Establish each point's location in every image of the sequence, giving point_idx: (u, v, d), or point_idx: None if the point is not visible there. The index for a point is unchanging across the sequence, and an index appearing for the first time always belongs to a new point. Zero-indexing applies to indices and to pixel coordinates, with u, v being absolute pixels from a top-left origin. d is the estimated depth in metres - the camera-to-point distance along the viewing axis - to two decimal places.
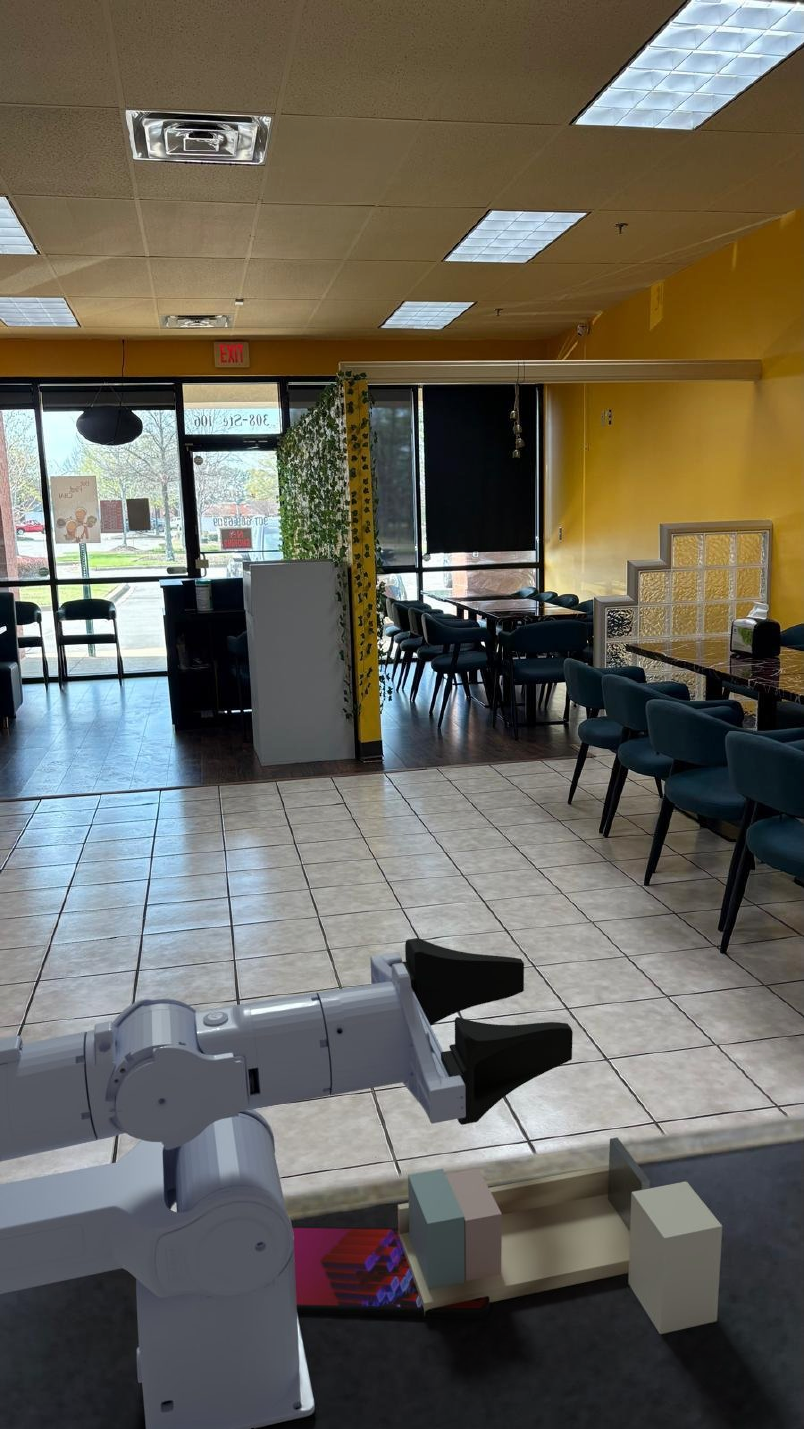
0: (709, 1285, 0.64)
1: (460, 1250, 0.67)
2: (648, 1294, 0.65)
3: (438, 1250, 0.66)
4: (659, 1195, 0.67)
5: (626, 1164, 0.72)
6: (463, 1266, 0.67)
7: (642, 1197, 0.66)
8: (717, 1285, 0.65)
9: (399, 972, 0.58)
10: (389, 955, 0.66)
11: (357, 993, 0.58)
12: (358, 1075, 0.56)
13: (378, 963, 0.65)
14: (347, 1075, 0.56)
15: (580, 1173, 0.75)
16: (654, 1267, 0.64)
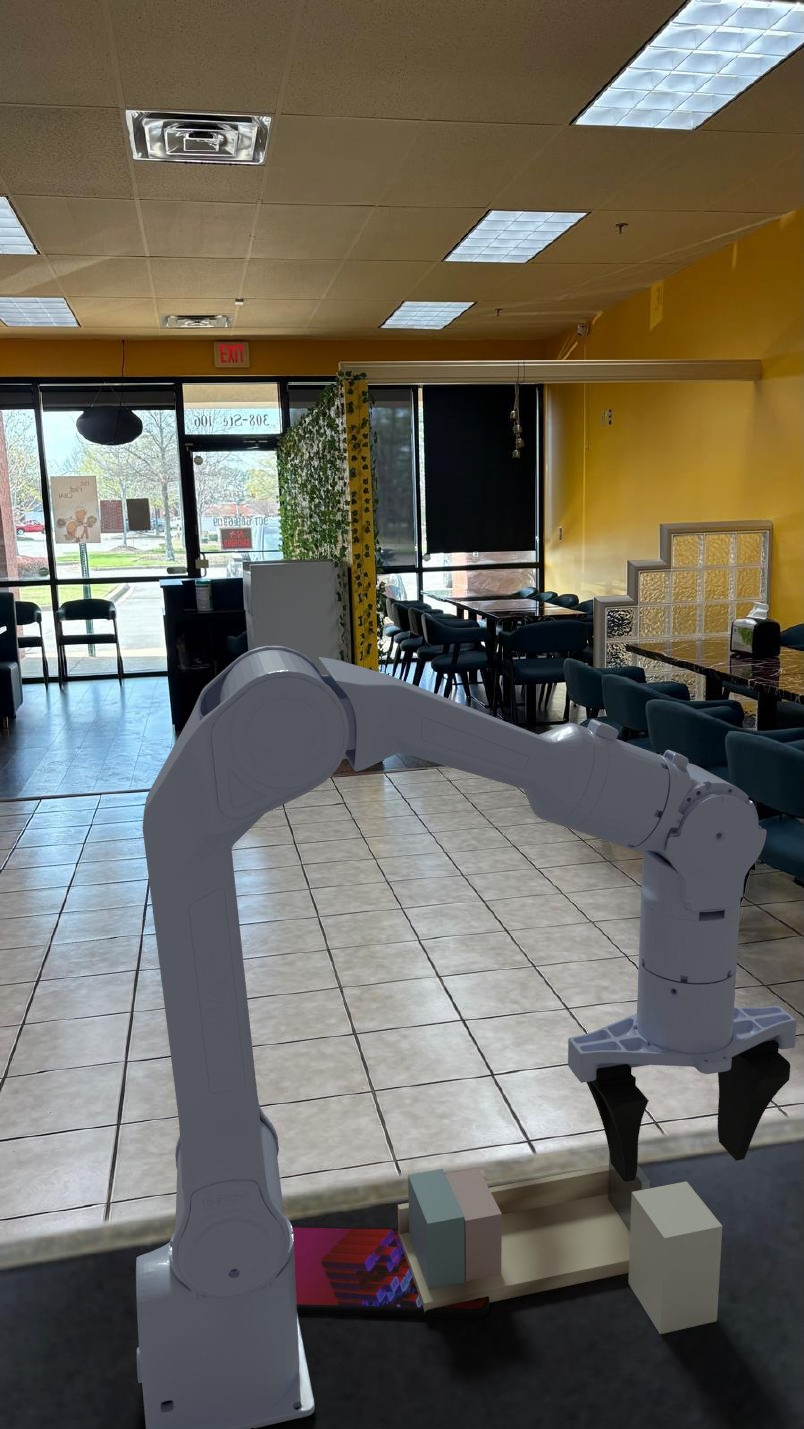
0: (709, 1285, 0.64)
1: (460, 1250, 0.67)
2: (649, 1294, 0.65)
3: (438, 1250, 0.66)
4: (660, 1195, 0.67)
5: None
6: (463, 1266, 0.67)
7: (642, 1197, 0.66)
8: (717, 1285, 0.65)
9: (713, 1066, 0.59)
10: (791, 1038, 0.64)
11: (711, 1017, 0.60)
12: (640, 987, 0.62)
13: (779, 1027, 0.63)
14: (641, 978, 0.62)
15: (580, 1173, 0.75)
16: (654, 1267, 0.64)
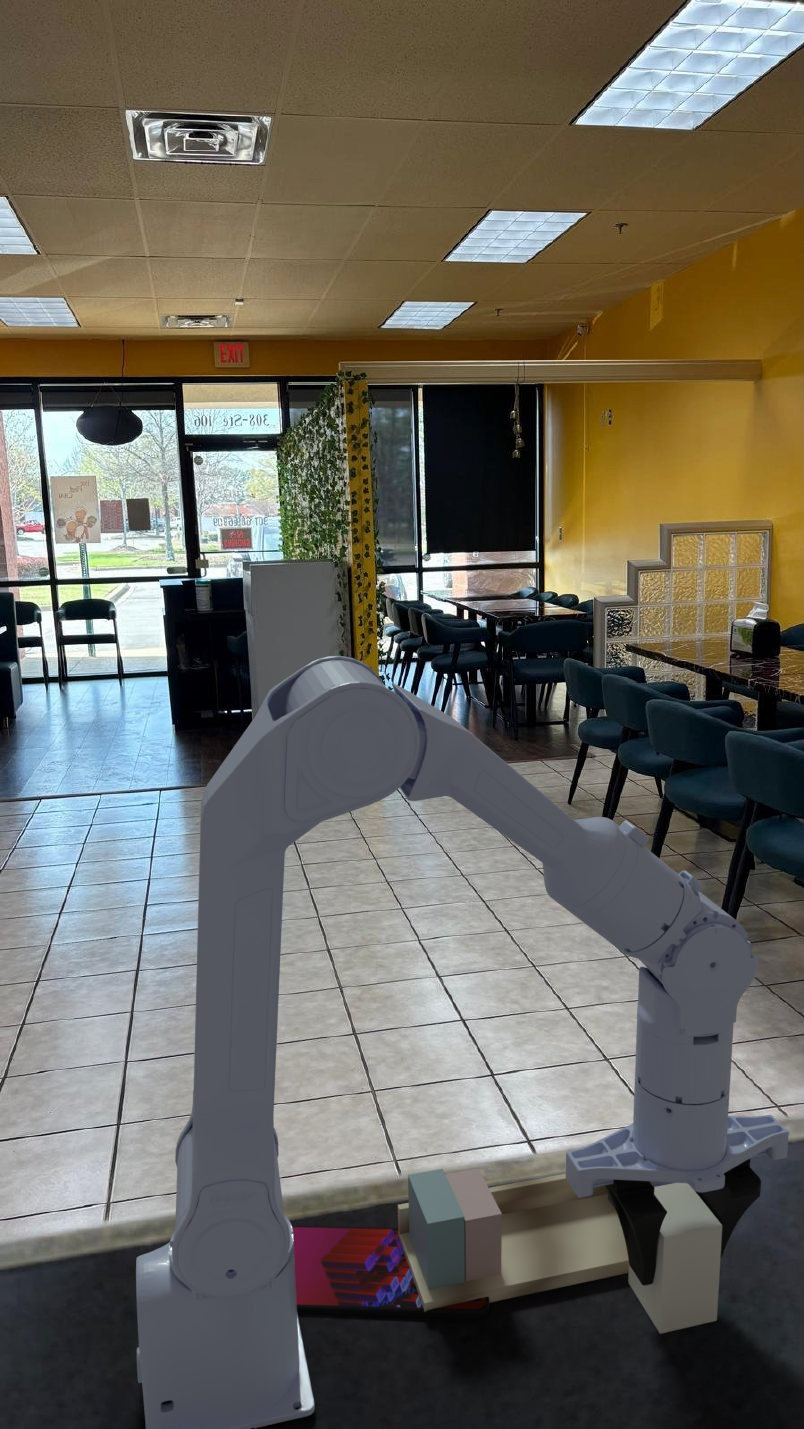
0: (709, 1284, 0.64)
1: (460, 1250, 0.67)
2: (648, 1293, 0.65)
3: (438, 1250, 0.66)
4: (659, 1195, 0.67)
5: None
6: (463, 1266, 0.67)
7: None
8: (717, 1284, 0.65)
9: (707, 1185, 0.60)
10: (783, 1149, 0.65)
11: (705, 1136, 0.61)
12: (636, 1102, 0.64)
13: (771, 1140, 0.65)
14: (637, 1094, 0.63)
15: None
16: None
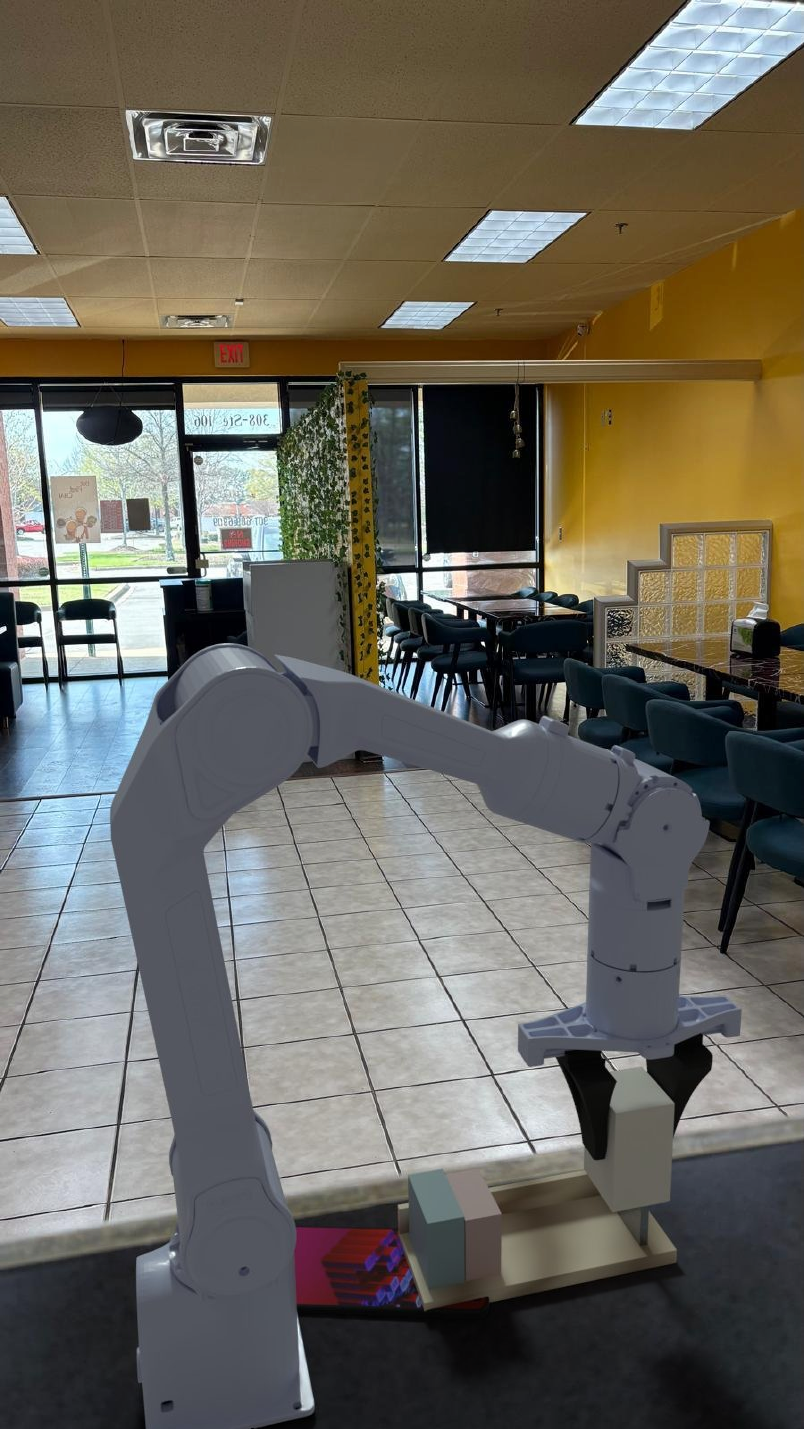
0: (662, 1164, 0.65)
1: (460, 1250, 0.67)
2: (602, 1174, 0.66)
3: (438, 1250, 0.66)
4: None
5: None
6: (463, 1266, 0.67)
7: None
8: (670, 1164, 0.65)
9: (656, 1051, 0.61)
10: (736, 1027, 0.65)
11: (654, 1005, 0.61)
12: (588, 975, 0.64)
13: (724, 1016, 0.65)
14: (589, 967, 0.64)
15: (580, 1173, 0.75)
16: (607, 1146, 0.65)
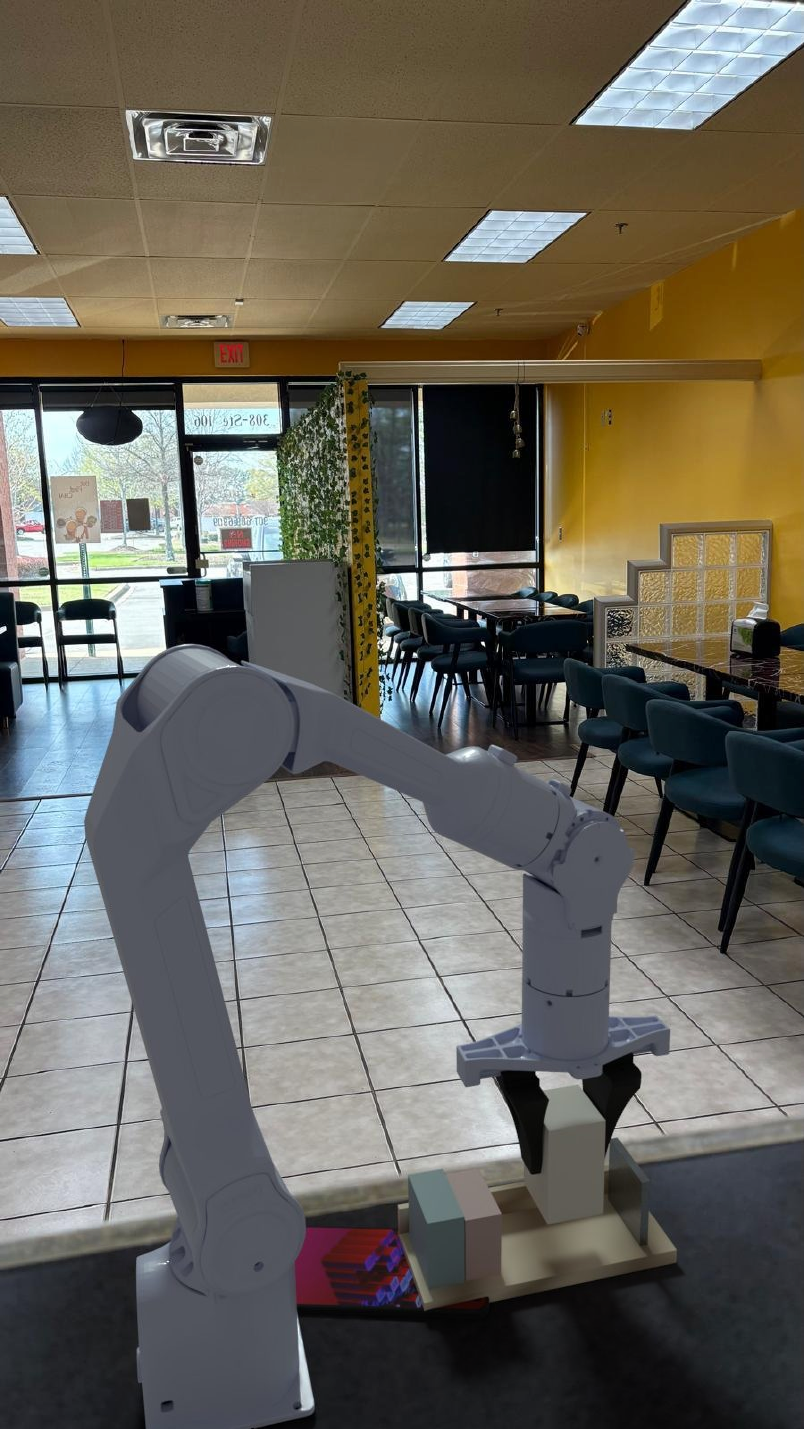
0: (594, 1178, 0.68)
1: (460, 1250, 0.67)
2: (538, 1188, 0.69)
3: (438, 1250, 0.66)
4: (550, 1096, 0.70)
5: (626, 1164, 0.72)
6: (463, 1266, 0.67)
7: None
8: (602, 1178, 0.68)
9: (585, 1072, 0.64)
10: (665, 1046, 0.69)
11: (583, 1027, 0.65)
12: (522, 998, 0.67)
13: (653, 1036, 0.68)
14: (523, 991, 0.67)
15: None
16: None
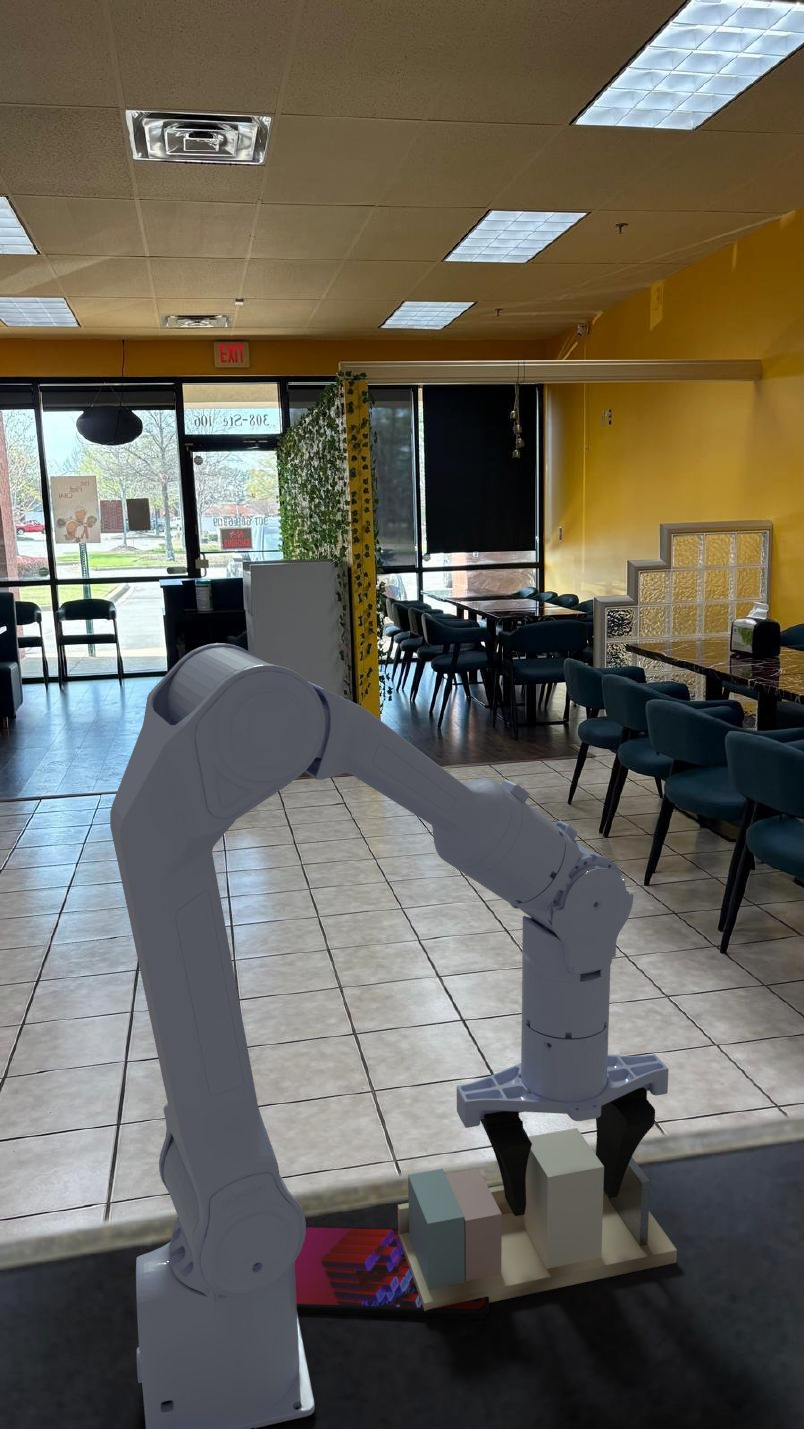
0: (593, 1223, 0.69)
1: (460, 1250, 0.67)
2: (538, 1232, 0.70)
3: (438, 1250, 0.66)
4: (549, 1140, 0.71)
5: None
6: (463, 1266, 0.67)
7: (533, 1142, 0.71)
8: (601, 1223, 0.69)
9: (583, 1114, 0.65)
10: (664, 1085, 0.69)
11: (582, 1069, 0.65)
12: (522, 1039, 0.68)
13: (651, 1076, 0.69)
14: (522, 1032, 0.67)
15: None
16: (541, 1206, 0.69)
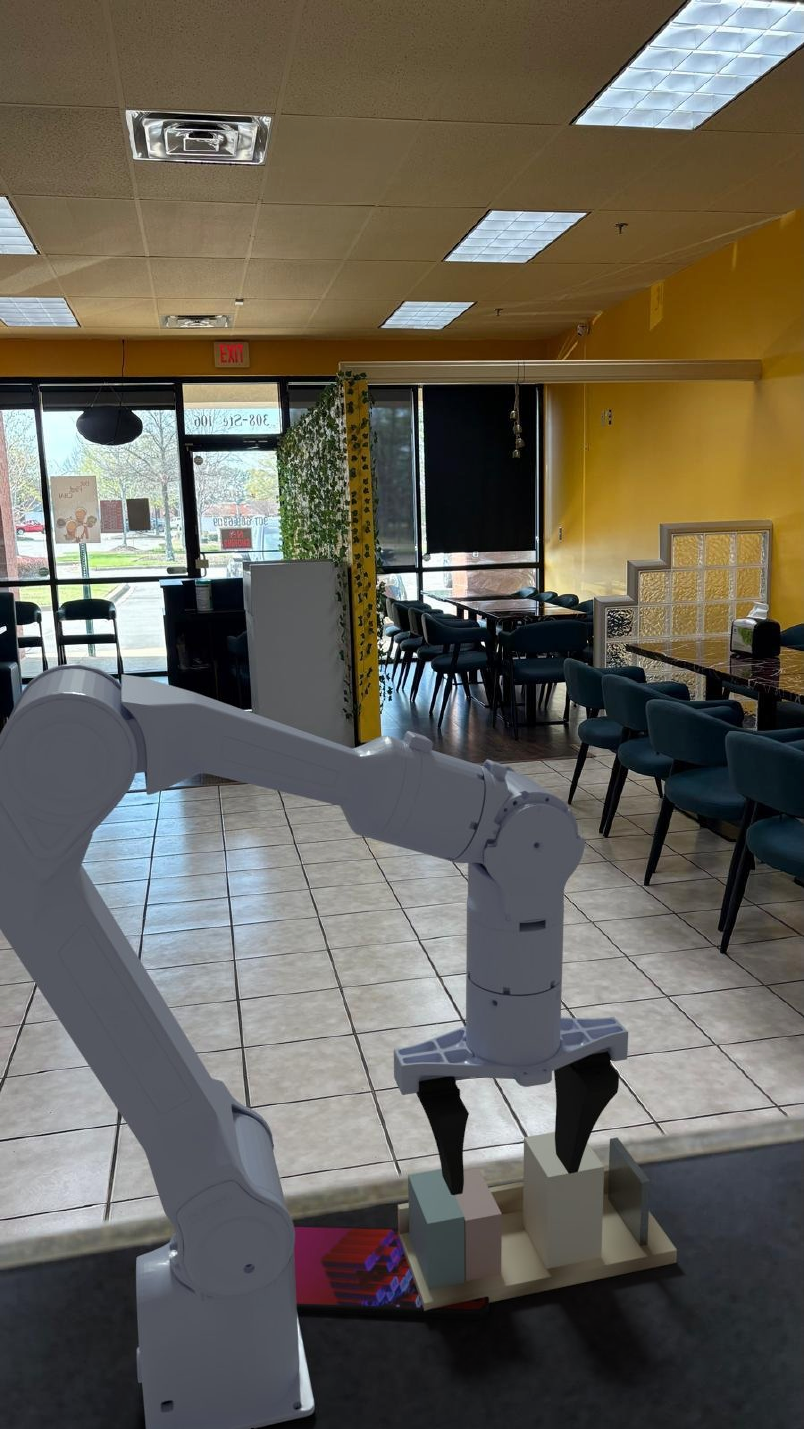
0: (593, 1223, 0.69)
1: (460, 1250, 0.67)
2: (538, 1232, 0.70)
3: (438, 1250, 0.66)
4: (549, 1140, 0.71)
5: (626, 1164, 0.72)
6: (463, 1266, 0.67)
7: (533, 1142, 0.71)
8: (601, 1223, 0.69)
9: (532, 1079, 0.58)
10: (623, 1050, 0.63)
11: (532, 1029, 0.59)
12: (466, 998, 0.61)
13: (609, 1039, 0.62)
14: (467, 989, 0.61)
15: None
16: (541, 1206, 0.69)
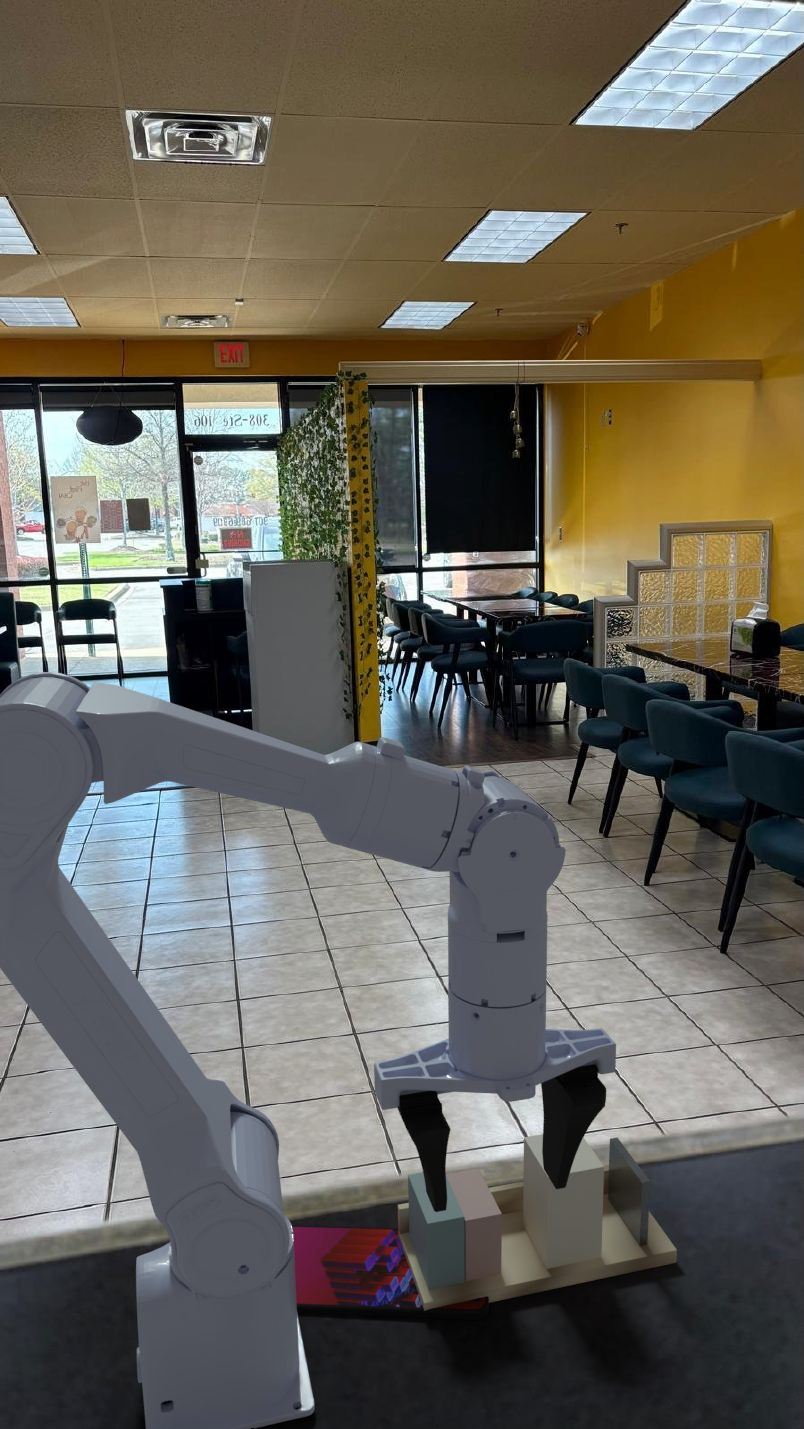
0: (593, 1223, 0.69)
1: (460, 1250, 0.67)
2: (538, 1232, 0.70)
3: (438, 1250, 0.66)
4: None
5: (626, 1164, 0.72)
6: (463, 1266, 0.67)
7: (533, 1142, 0.71)
8: (601, 1223, 0.69)
9: (515, 1093, 0.56)
10: (611, 1063, 0.61)
11: (515, 1043, 0.57)
12: (448, 1010, 0.60)
13: (596, 1052, 0.61)
14: (449, 1001, 0.59)
15: None
16: (541, 1206, 0.69)
